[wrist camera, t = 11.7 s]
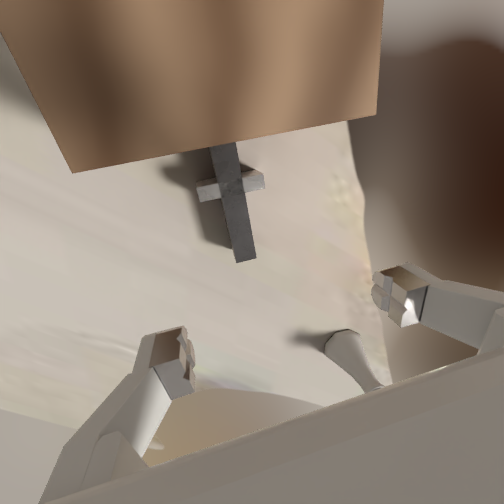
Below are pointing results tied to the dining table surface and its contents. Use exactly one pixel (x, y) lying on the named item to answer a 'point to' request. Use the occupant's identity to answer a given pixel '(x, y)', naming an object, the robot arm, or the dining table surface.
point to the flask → (352, 358)
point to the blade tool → (232, 196)
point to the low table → (190, 70)
